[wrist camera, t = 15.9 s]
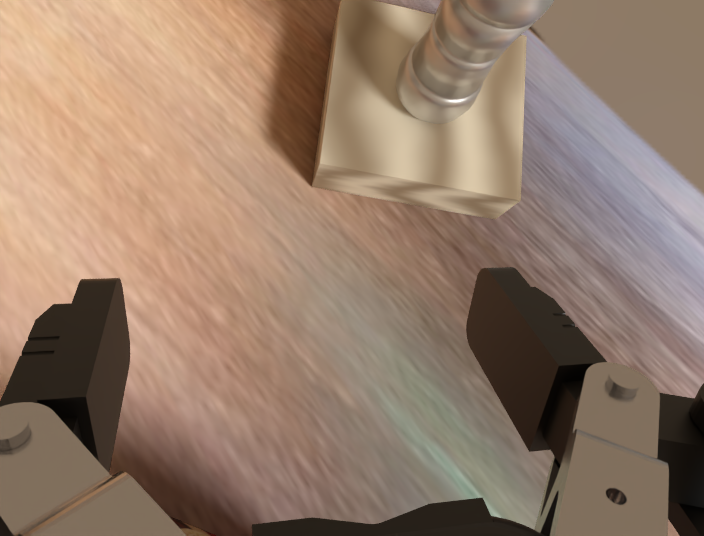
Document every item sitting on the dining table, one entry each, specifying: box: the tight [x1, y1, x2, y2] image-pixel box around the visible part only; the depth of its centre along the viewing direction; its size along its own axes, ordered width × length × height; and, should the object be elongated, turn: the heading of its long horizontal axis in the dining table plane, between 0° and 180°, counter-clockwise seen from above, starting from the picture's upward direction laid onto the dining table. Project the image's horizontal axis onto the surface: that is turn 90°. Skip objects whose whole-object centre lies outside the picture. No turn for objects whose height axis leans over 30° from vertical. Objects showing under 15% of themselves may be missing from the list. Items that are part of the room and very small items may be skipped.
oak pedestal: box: [312, 0, 526, 219], centre depth 52 cm, size 17×16×5 cm
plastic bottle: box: [396, 0, 554, 124], centre depth 40 cm, size 6×7×20 cm
